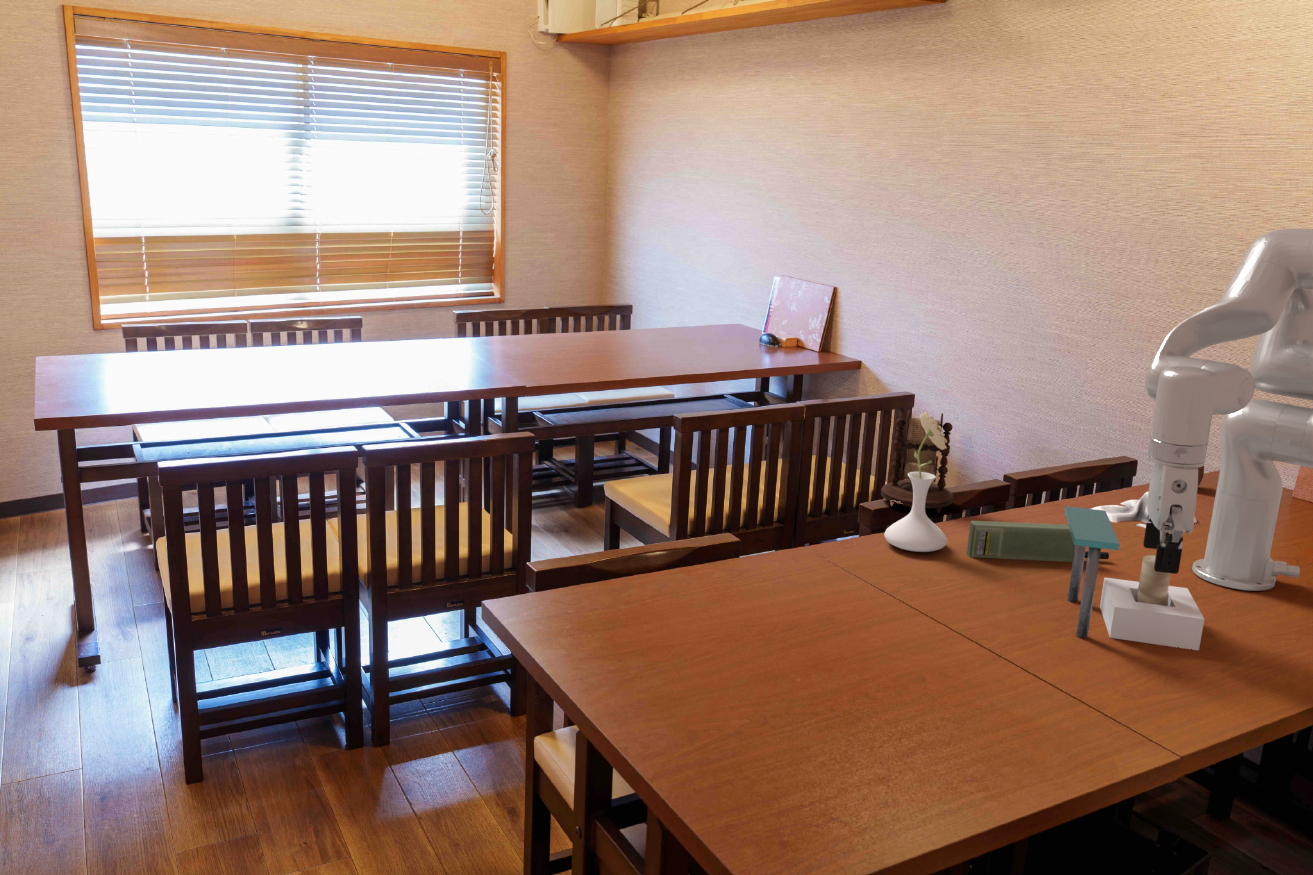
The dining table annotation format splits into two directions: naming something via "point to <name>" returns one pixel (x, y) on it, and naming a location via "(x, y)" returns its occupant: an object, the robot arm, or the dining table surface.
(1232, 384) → the robot arm
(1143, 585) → the peg
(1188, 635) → the socket block
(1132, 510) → the cloth
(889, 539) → the flower in vase
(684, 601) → the dining table surface
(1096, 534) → the small teal stool
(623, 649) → the dining table surface
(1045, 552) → the handheld radio
